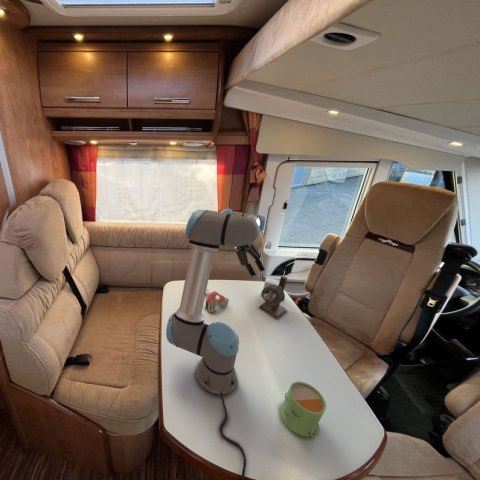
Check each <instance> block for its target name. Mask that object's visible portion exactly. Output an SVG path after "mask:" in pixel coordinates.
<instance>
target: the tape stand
mask: <svg viewBox="0 0 480 480" xmlns="http://www.w3.org/2000/svg"><path fill="white" fill-rule="evenodd" d="M279 281H280V282H279V287H280V288H281V289H282V290H283V291H284V292H285V287H286V284H287V282H288V277H287V276H285V275H282V276H280V278H279ZM274 294H275V293H274V292H272V291H271V292H269V293H268V294H265V295H264V298H265V299H269V298H270V297H271V296H272V295H274ZM275 299H277V297H276V296H275ZM259 309H260V310H262V311H264V312H265V313H267V314H268V315H270V316H272V317H273V318H275V319H278V318H279V317H280V316H282V315H283V314H284V313H286V312H287V310H288V309H287V307H284V306H282V305H281V303H280V304H279V305H277V306H271V305H269V304H267V303H266V302H265V301H264V302H263V303H262V304H260V305H259Z"/></svg>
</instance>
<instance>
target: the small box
mask: <svg viewBox="0 0 480 480" xmlns="http://www.w3.org/2000/svg"><path fill="white" fill-rule="evenodd" d="M279 282H280V280H277V279H274V278H270V277H266V278H265V281H264V284H263V288H262V290H263V289H264V288H265V287H267V286H268V285H272V284H275V285H277V286H279ZM270 292H271V291H270ZM275 296H276V295H275V294H274V295H272V297H273V298H275Z"/></svg>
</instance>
